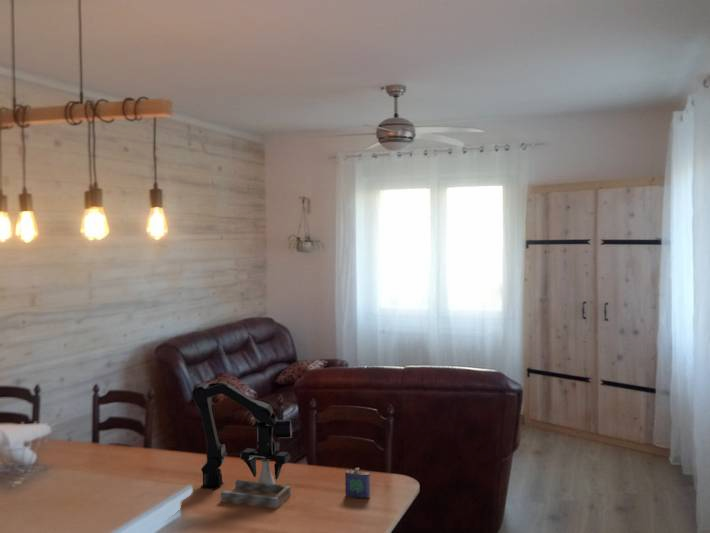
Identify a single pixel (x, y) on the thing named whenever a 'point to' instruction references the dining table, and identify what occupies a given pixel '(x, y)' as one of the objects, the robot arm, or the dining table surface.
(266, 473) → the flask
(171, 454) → the dining table surface
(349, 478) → the flask
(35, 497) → the dining table surface
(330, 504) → the dining table surface
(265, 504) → the grey rectangular tray
